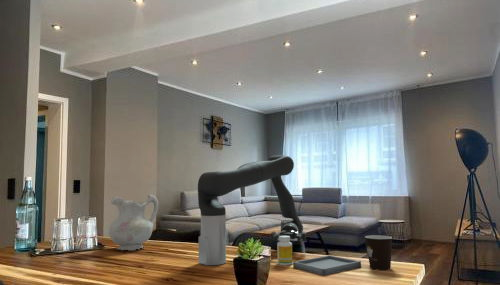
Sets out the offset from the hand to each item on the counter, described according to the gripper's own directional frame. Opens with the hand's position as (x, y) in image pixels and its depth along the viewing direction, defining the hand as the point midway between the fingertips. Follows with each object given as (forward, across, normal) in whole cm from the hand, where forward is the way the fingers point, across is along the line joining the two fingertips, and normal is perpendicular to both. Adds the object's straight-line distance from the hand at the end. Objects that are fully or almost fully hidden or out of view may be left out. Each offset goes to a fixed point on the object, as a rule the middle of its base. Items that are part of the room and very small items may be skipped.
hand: (287, 238), depth 139 cm
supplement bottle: (+11, 0, +7) cm, 13 cm away
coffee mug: (+14, +32, +7) cm, 35 cm away
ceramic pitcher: (-16, -72, +7) cm, 74 cm away
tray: (+15, +14, +7) cm, 22 cm away
